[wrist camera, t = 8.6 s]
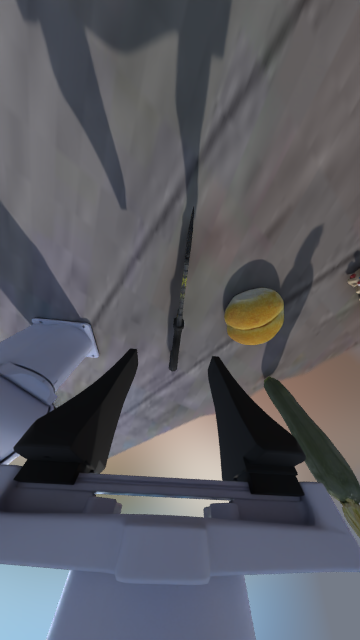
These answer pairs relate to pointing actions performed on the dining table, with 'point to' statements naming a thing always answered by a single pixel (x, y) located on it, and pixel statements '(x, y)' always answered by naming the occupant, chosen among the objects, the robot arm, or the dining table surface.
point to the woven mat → (355, 280)
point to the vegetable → (319, 453)
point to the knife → (181, 304)
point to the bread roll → (254, 316)
